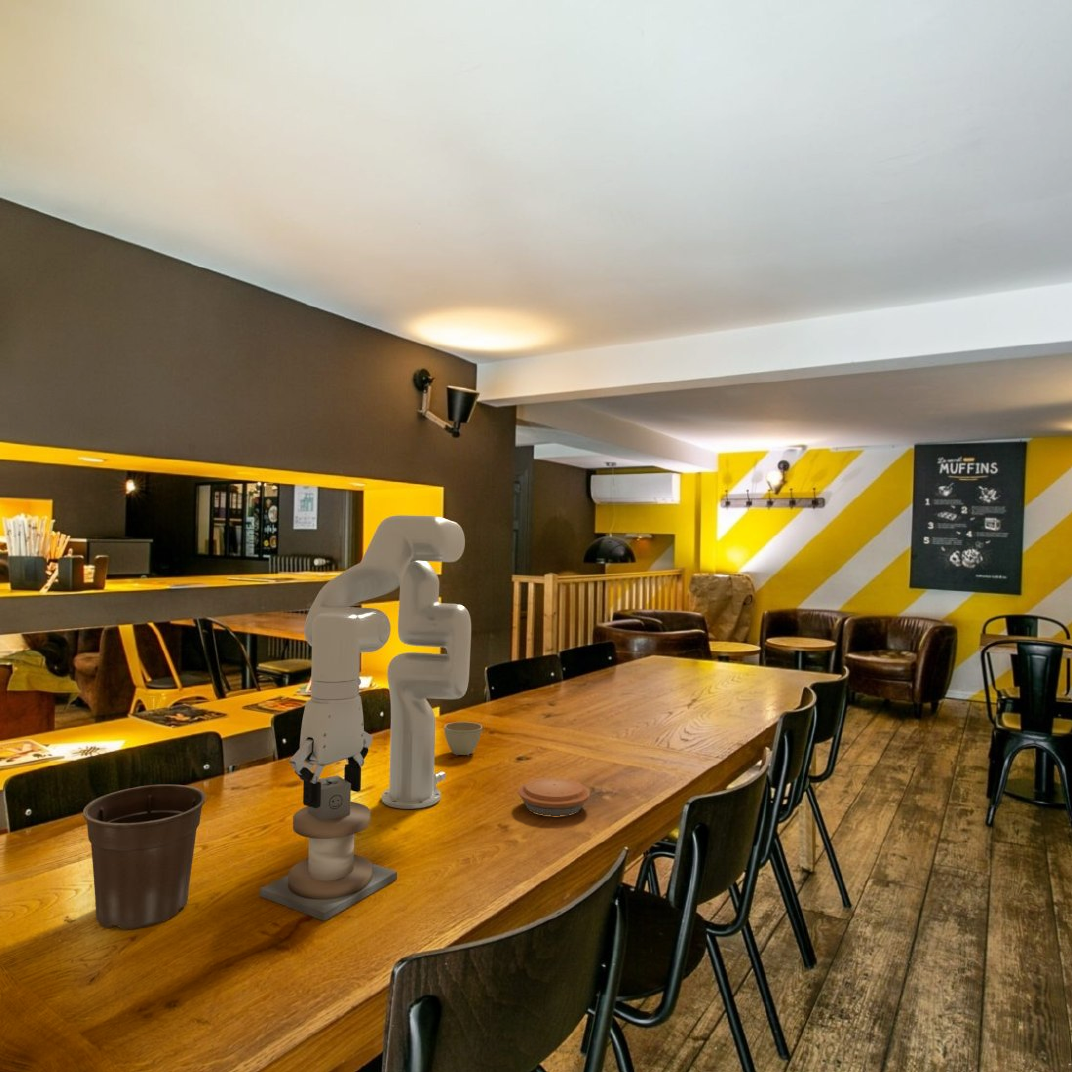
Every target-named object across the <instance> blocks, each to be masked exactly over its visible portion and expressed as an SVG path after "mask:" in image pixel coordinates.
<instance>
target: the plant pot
mask: <svg viewBox="0 0 1072 1072" xmlns="http://www.w3.org/2000/svg"><path fill="white" fill-rule="evenodd" d="M206 800H207V795H206V793H205V792H204V791H202V790H201V789H199V788H197V787H194V786H189V785H182V784H151V785H143V786H142V785H140V786H137V787H132V788H126V789H121V790H118V791H115V792H111V793H108V794H105V795H103V796H100V797H97V798H96V799H94V800H92V801H90V802H88V804H87V805H86V806H85V807H84V808H83V811H82V813H83V818H84V820H85V821H86V826H87V837H88V838H87V839H88V841H89V843H90V845H91V846H90V848H91V859H92V873H93V886H94V902H95V918H96V920H97V922H98V923H99V924H100V925H101V926H103V927H105V928H109V929H110V928H113V927H119V928H121V929H122V931H123V930H133V929H139V928H148V927H150V926H154V925H157V924H160V923H162V922H164V921H168V920H170V919H172V918H173V917H175V916H177V914H178V913H179V911H180V910H181V909H185V908H186V906H187V905H188V900H189V889H190V883H191V882H190V881H191V874H192V865H193V859H194V851H195V845H196V844H195V843H196V836H197V829H198V828H199V826H200V823H201V816H202V809H203V805H204V804H205V803H206Z"/></svg>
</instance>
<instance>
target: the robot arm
mask: <svg viewBox="0 0 1072 1072" xmlns="http://www.w3.org/2000/svg"><path fill="white" fill-rule="evenodd" d="M465 544H466V539H465V533H464V531H463V528H462V527H461V525H459V524H458V523H457V522H456V521H452V520H449V519H446V518H445V517H441V516H433V515H399V514H398V515H392V516H387V517H386V518H384V519H383V520H382V521H380V523H379V525H378V526H377V528H376V530H375V532H374V534H373V536H372V538H371V540H370V542H369V544H368V546H367V548H366V551H365V553H364V554H363V556H362V559H361V561H360V562H359V563H357V564H355V565H353V566H351V567H349V568H348V569H346V570H345V571H343V572H341V573H340V574H339V575H336V576H335V577H333V578H332V579H330V580H329V581H328V582H327V583H326V584H325V585H323V586H322V588H321V589H320V590H319V591H318V594H317V595H316V597H315V599H314V601H313V602H312V604H311V606H310V608H309V610H308V613H307V614H306V619H305V622H304V629H303V631H304V638H305V640H306V642H307V643H308V644H309V646H310V647H311V674H310V675H311V677H310V678H311V679H310V699H308V700H306V703H305V706H304V711H303V714H302V715H303V716H302V722H301V730H300V739H299V749H298V750H297V751H296V752H295V754H293V756H292V757H291V758H290V759H289V763H290V765H291V767H292V768H293V770H294V773H295V774H296V775H297V776H298V777H299V779H300V781H303V787H302V788H303V792H302V793H303V795H302V803H303V806H305V807H307V806H309V807H313V808H319V807H320V804H321V782H318V779H320V776H321V774H322V772H323V770H324V767H326V766H330V765H331V764H334V763H338V762H341V761H344V760H346V763H345V764H344V771H343V772H344V775H343V777H344V778H343V779H344V780H346V781H348V782H349V783H351V792H356V793H359V792H360V791H361V790H362V786H361V785H362V767H364V765H365V758H366V757H367V756H368V753H369V748H370V747H371V744H372V742H373V739H374V738H373V735H372V734H370V733H368V732H367V731H365V729H364V712H363V703H362V697H361V695H360V686H361V683H362V680H361V678H360V670H361V669H360V664H361V661H360V659H361V655H360V654H361V653H373V652H377V651H379V650H380V649H382V648H384V646H385V645H386V644H387V642H388V641H389V638H390V636H391V622H390V619H389V617H388V616H387V614H386V613H385V612H384V611H382V610H380V609H377V608H373V607H354V606H353V605H355V604H358V603H360V602H364V601H367V600H371V599H375V598H378V597H380V596H383V595H386V594H389V593H391V592H393V591H395V590H396V589H398V588H399V600H398V602H399V603H398V615H397V616H398V617H397V618H398V619H397V634H398V638H399V640H400V642H401V643H403V644H404V645H407V646H414V647H427V648H428V647H429V648H444V649H446V653H431V652H416V651H415V652H414V651H413V652H402V653H400V654H397V655H395V656H394V657H392V658H391V660H390V661H389V662H388V663H389V664H388V665H387V666H388V667H387V675H386V676H387V683H388V684H387V685H388V691H389V699H390V700H389V701H390V742H389V743H390V744H389V745H390V746H389V748H390V749H389V787H388V789H386V790H384V791H383V792H382V794H381V802H382V803H383V804H384V805H386V806H388V807H391V808H393V809H394V808H395V809H404V810H412V809H413V810H415V809H423V808H427V807H431V806H433V805H436V804H437V803H438V802H440V800H441V798H442V796H441V795H442V793H441V791H440V790H439V789H438V788H437V784H438V783H439V782H442V781H444V780H445V779H446V777H447V774H446V772H445V771H443V770H442V771H441V770H440V771H438V772H437V773H436V772H435V755H436V753H435V752H436V751H435V748H436V716H435V712H434V710H433V708H432V706H431V704H430V703H429V702H428V700H427V699H437V700H438V699H439V700H440V699H441V700H458V699H461V698H463V697H464V696H465V695H466V693H467V690H468V686H469V680H470V667H471V666H470V662H471V643H472V641H471V640H472V619H471V615H470V612H469V611H468V609H467V608H466V607H465V606H463V605H462V604H457V603H444V602H443V603H442V602H441V603H440V601H439V600H440V599H439V596H440V595H439V594H440V593H439V592H440V580H439V576H438V575H437V572H436V571H435V570H434V568H433V567H432V565H431V564H430V563H429V562H433V563H434V562H436V563H437V562H438V563H455V562H457V561H458V560H459V559H460V558H461V557H462V555H463V554H464V551H465V547H466V546H465ZM313 767H314V769H313ZM312 769H313V771H312Z"/></svg>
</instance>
